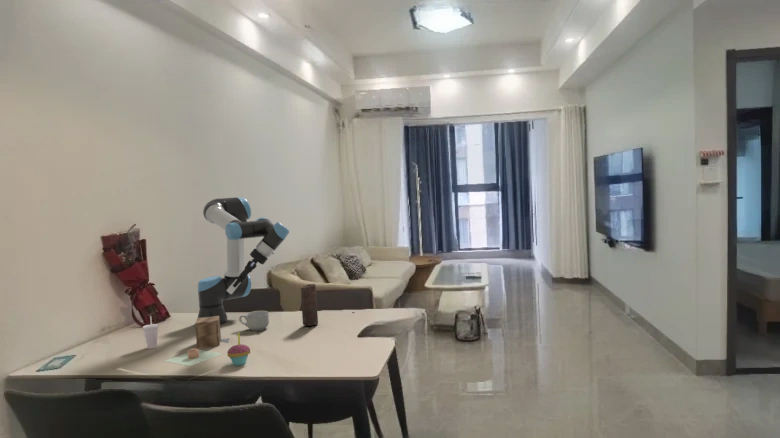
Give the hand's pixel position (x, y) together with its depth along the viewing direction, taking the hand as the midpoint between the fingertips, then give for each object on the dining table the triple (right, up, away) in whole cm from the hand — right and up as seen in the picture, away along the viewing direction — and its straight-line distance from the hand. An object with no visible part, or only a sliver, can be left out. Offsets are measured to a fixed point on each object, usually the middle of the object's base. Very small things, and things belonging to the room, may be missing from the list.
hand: (230, 290), depth 229 cm
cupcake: (+13, -24, -30) cm, 40 cm away
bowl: (-8, -24, -21) cm, 33 cm away
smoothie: (-34, -25, 0) cm, 43 cm away
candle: (+32, -20, +23) cm, 44 cm away
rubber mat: (-9, -24, -2) cm, 25 cm away
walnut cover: (-9, -23, -2) cm, 25 cm away
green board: (-8, -24, -21) cm, 33 cm away
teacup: (+5, -22, +21) cm, 31 cm away
